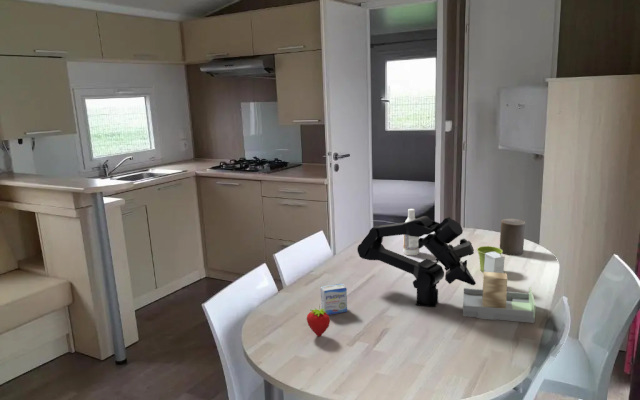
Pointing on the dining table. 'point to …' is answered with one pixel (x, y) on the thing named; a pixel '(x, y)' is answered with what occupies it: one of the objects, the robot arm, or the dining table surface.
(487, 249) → the plant pot
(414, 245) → the bath foam
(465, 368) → the dining table surface
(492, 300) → the block
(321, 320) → the strawberry
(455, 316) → the dining table surface
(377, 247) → the robot arm
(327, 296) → the medicine box
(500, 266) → the skincare box
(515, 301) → the lane
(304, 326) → the dining table surface
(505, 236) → the pillar candle
